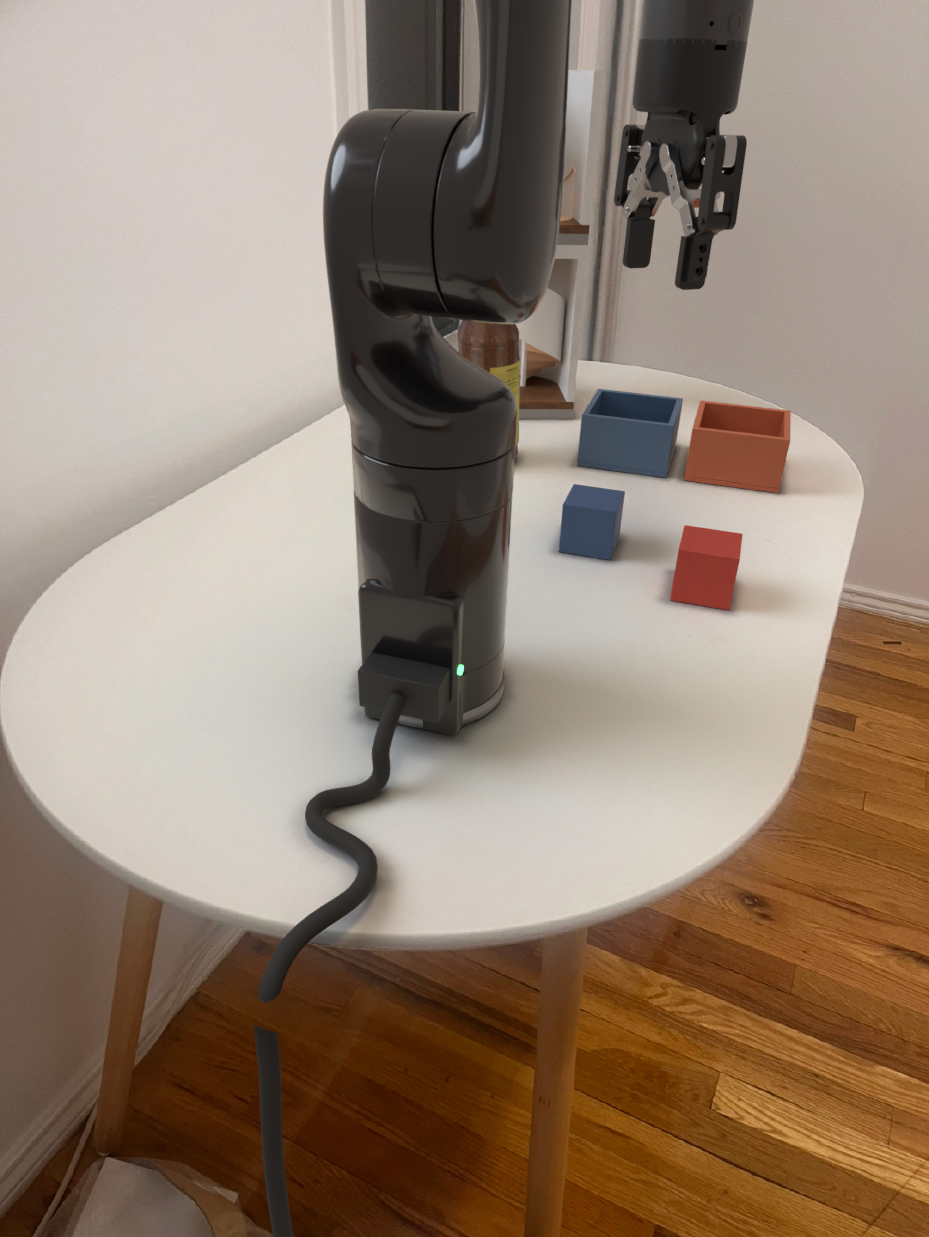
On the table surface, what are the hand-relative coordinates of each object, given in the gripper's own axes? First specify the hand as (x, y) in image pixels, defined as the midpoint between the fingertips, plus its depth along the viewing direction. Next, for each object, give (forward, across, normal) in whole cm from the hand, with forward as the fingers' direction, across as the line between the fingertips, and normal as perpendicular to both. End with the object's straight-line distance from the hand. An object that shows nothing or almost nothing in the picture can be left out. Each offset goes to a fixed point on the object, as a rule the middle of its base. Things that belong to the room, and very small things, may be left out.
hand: (661, 277), depth 71 cm
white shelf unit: (+21, -33, +3) cm, 39 cm away
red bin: (+21, -7, +16) cm, 27 cm away
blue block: (+21, +4, -6) cm, 22 cm away
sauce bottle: (+21, -17, -8) cm, 28 cm away
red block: (+21, +14, -1) cm, 25 cm away
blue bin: (+21, -14, +7) cm, 26 cm away
